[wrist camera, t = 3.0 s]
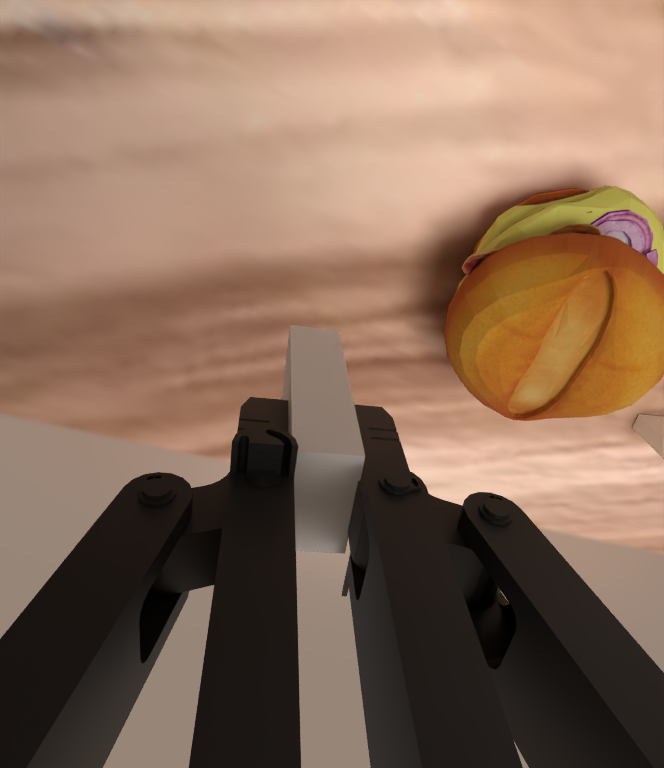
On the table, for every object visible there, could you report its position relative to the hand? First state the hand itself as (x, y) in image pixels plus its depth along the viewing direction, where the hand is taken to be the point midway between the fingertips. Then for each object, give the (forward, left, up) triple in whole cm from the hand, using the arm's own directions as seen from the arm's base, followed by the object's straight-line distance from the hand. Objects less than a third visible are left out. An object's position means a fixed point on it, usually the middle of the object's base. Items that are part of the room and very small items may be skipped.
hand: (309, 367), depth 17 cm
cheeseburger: (+11, +6, -12) cm, 17 cm away
